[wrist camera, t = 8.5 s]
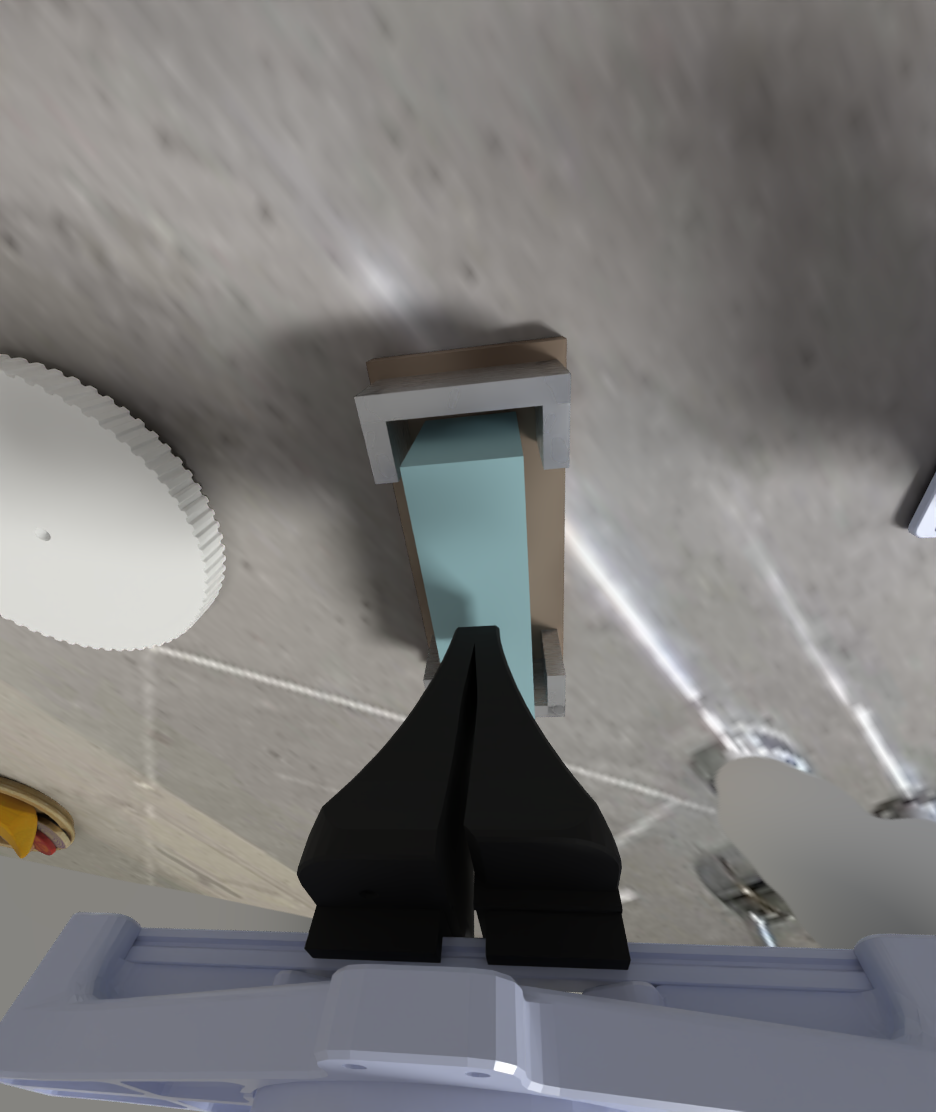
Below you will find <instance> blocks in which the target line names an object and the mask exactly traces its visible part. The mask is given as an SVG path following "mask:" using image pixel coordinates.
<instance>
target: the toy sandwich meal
mask: <svg viewBox="0 0 936 1112" xmlns="http://www.w3.org/2000/svg"><path fill="white" fill-rule="evenodd" d="M74 838H75V830H74V821H73V819H72V817H71V815H70V814H69V813H68V812H67V811H66V810H65V809H64V808H63V807H62V806H61V805H60V804H58V803H57V802H56V801H54V800H53V799H51V798H50V797H48V796H46V795H44V794H43V793H41V792H39V791H37V790H35V789H33V788H31V787H28V786H26V785H23V784H21V783H18V782H15V781H13V780H10V779H7V778H3V777H0V846H4V847H8V848H13V849H14V850H15V852H16V853H17V855H18V856H19V857H20V858H24V857H25V856H26V855H27V854H28V853H30V852H31V851H39V852H41V853H43V854H46V855H52V854H53V853H54V852H55V851H56V850H61V849H66V848H67V847H68V846H69V845H71V844H72V842H73V841H74Z"/></svg>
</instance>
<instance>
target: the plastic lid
mask: <svg viewBox="0 0 936 1112" xmlns="http://www.w3.org/2000/svg"><path fill="white" fill-rule="evenodd" d="M158 437H159V436H158V435H157V434H156V433H155V432H154V431H149V430H147V429H146V428H145V423H144V422H143V421H142V420H140V419H139V418H138V419H134V418H133V417H132V416H130V411H129V410H128V409H126V408H125V407H118V406H117V405H115V404H114V400H113V399H112V398H110V397H109V396H101V395H100V394H98V392H97V389H96V388H94V387H92V386H83V385H82V384H81V383H80V380H79V379H77V378H75V377H73V376H72V377H65V376H64V375H63V373H62V371H60V370H57V369H50V370H47V369H46V368H45V366H44V364H41V363H38V362H35V363H28V361H27V360H26V359H24V358H20V357H18V358H10V356H9V355H6V354H0V614H1V617H3V618H5V619H7V620H8V619H10V620H12V621H14V622H15V624H17V625H19V626H22V625H23V626H25V627H28V629H29V630H30V631H33V632H35V631H38V632H40V633H41V634H42V635H43V636H46V637H48V636H51V637H54V638H55V640H58V641H62V640H64V641H67V642H68V643H69V644H73V645H74V644H75V643H76V644H79V645H80V646H81V647H87V646H91V647H92V648H93V649H99V648H104V649H105V650H108V651H110V650H112V649H116V650H117V651H122V650H123V649H127V650H128V651H133V650H134V649H135V648H137V649H138V650H143V649H144V648H145V647H148V648H153V647H154V646H155V645H158V646H161V645H163V644H164V643H165V642H167V643H169V642H171V641H172V640H173V639H174V638H175V639H177V638H178V637H179V636H180V635H181V634H184V633H185V632H186V631H187V630H188V629H189V628H191V627H192V625H193V624H194V623H195V622H196V621H197V620H198V619H199V618H200V617H201V616H202V614H203V613H204V612H205V611H206V610H207V609H208V608H209V607H210V605H211V604H212V603H213V602H214V601H215V598H216V597H217V596H218V594H219V592H218V591H219V589H220V588H221V587H222V584H221V582H222V580H223V579H224V575H223V574H222V573H223V572H224V571H225V570H226V566H225V565H223V562H224V561H225V560H226V556H225V555H223V554H222V552H223V551H224V550H225V545H224V544H222V543H221V539H223V535H222V533H220V532H218V529H217V528H218V527H220V525H219V522H218V521H215V520H214V518H213V516H214V515H215V512H214V510H213V509H211V508H209V506H208V504H207V503H208V502H209V500H208V498H207V496H203V495H202V493H201V492H200V490H201V489H202V488H201V486H200V485H199V483H195V482H194V481H193V479H192V476H193V474H192V473H191V472H190V470H185V469H184V467H183V466H182V463H183V461H182V460H181V459H180V458H179V457H175V456H174V455H173V454H172V453H171V448H170V447H169V446H168V445H167V444H162V443H161V442H160V441H159V440H158Z"/></svg>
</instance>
